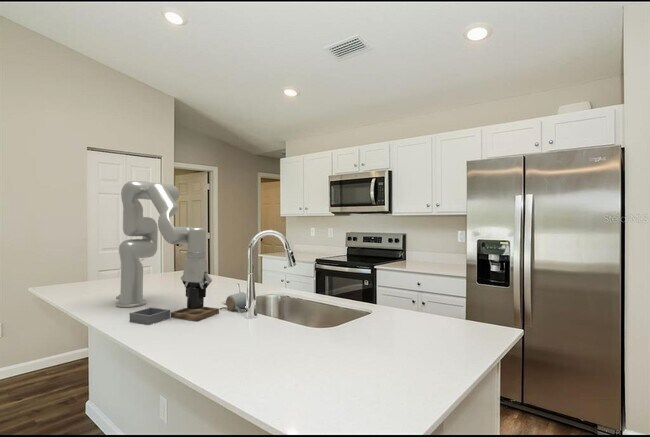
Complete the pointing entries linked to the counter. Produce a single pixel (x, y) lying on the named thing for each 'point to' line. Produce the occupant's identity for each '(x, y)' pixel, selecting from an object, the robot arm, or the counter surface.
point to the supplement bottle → (194, 296)
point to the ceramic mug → (236, 302)
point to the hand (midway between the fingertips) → (195, 296)
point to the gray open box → (149, 315)
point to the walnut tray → (194, 313)
